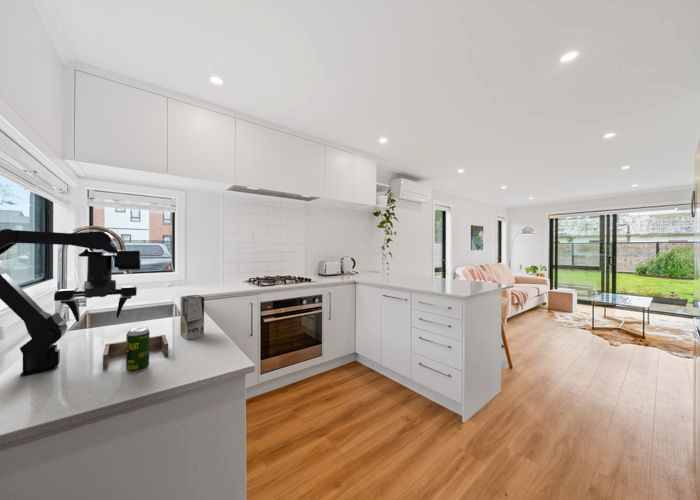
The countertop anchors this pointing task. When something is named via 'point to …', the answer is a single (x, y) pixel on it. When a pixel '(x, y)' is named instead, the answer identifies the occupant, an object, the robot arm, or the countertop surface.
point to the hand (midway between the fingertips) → (98, 319)
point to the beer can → (137, 349)
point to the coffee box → (192, 316)
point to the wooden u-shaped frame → (120, 348)
